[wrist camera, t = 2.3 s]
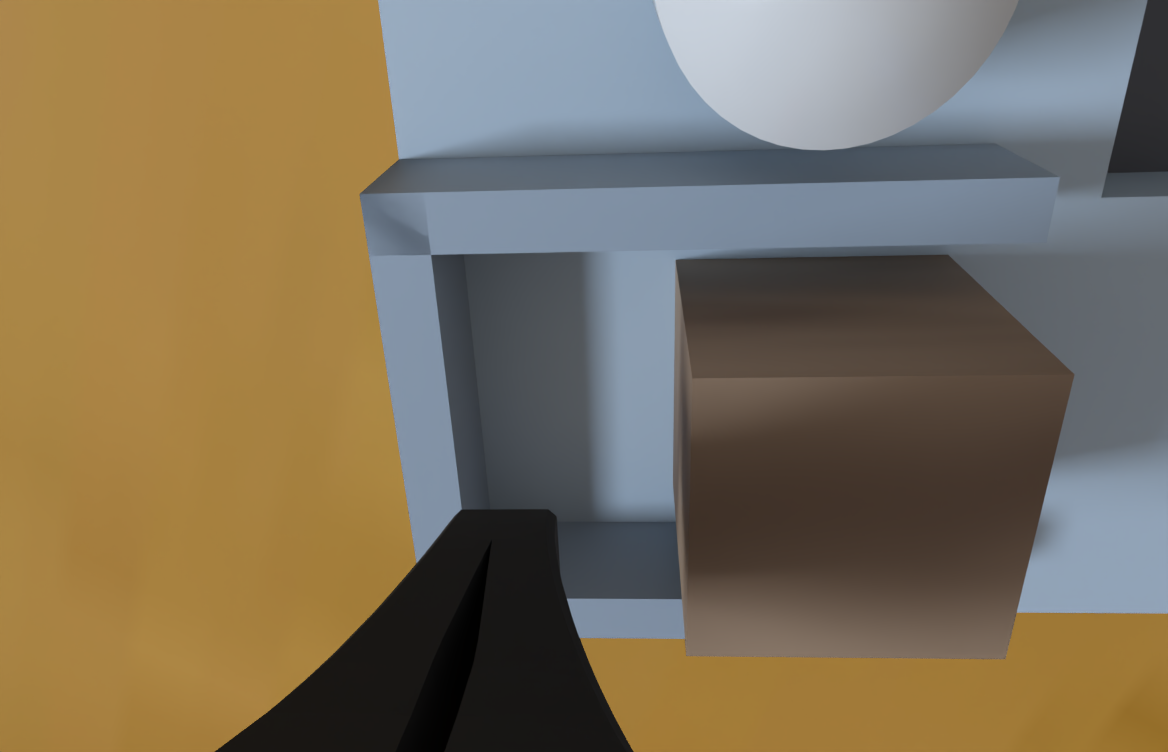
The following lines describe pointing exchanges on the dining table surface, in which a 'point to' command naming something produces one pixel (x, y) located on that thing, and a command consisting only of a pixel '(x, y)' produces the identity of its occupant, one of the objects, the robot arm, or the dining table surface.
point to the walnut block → (855, 457)
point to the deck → (750, 230)
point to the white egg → (830, 62)
